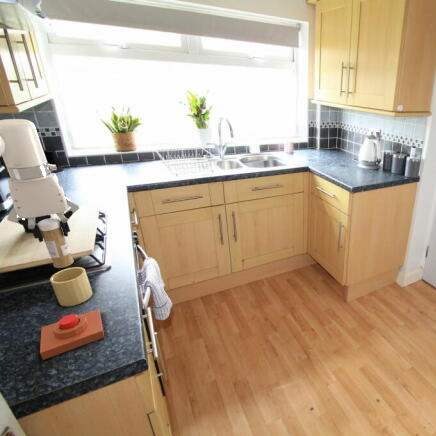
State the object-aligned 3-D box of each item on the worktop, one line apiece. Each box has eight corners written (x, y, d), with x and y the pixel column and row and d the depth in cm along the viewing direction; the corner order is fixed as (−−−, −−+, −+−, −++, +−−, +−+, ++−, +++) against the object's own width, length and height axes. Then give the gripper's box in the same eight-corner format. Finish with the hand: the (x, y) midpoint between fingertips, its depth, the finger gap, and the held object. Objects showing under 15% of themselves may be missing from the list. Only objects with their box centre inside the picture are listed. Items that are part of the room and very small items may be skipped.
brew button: (60, 332, 77) (58, 326, 76) (60, 323, 79) (58, 318, 79) (79, 325, 79) (77, 320, 78) (78, 317, 82) (76, 312, 81)
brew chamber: (59, 310, 89) (49, 286, 86) (59, 295, 95) (50, 272, 91) (93, 299, 94) (86, 276, 90) (91, 285, 99) (84, 264, 96)
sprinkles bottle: (77, 263, 90) (62, 220, 84) (57, 270, 86) (41, 226, 81) (69, 258, 92) (54, 216, 87) (50, 265, 89) (33, 221, 83)
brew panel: (43, 360, 74) (37, 347, 72) (44, 334, 81) (39, 321, 79) (104, 337, 81) (100, 325, 79) (100, 315, 88) (96, 303, 86)
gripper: (72, 164, 86) (91, 224, 93) (-16, 173, 76) (13, 240, 84) (73, 170, 80) (93, 234, 88) (-22, 181, 71) (10, 252, 78)
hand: (53, 236), depth 86 cm, fingers closed on sprinkles bottle, 4 cm apart
